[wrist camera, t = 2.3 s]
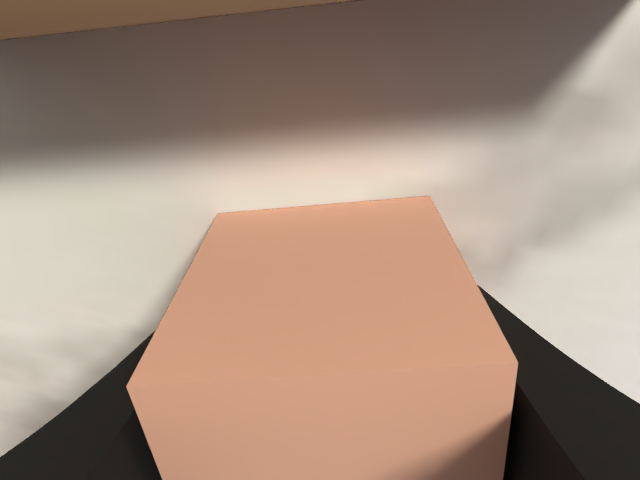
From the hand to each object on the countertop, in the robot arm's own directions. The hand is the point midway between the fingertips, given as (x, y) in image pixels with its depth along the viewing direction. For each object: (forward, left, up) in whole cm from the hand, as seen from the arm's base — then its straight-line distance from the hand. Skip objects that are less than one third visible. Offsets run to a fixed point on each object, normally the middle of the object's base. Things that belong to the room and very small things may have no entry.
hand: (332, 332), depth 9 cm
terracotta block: (0, 0, -1) cm, 1 cm away
